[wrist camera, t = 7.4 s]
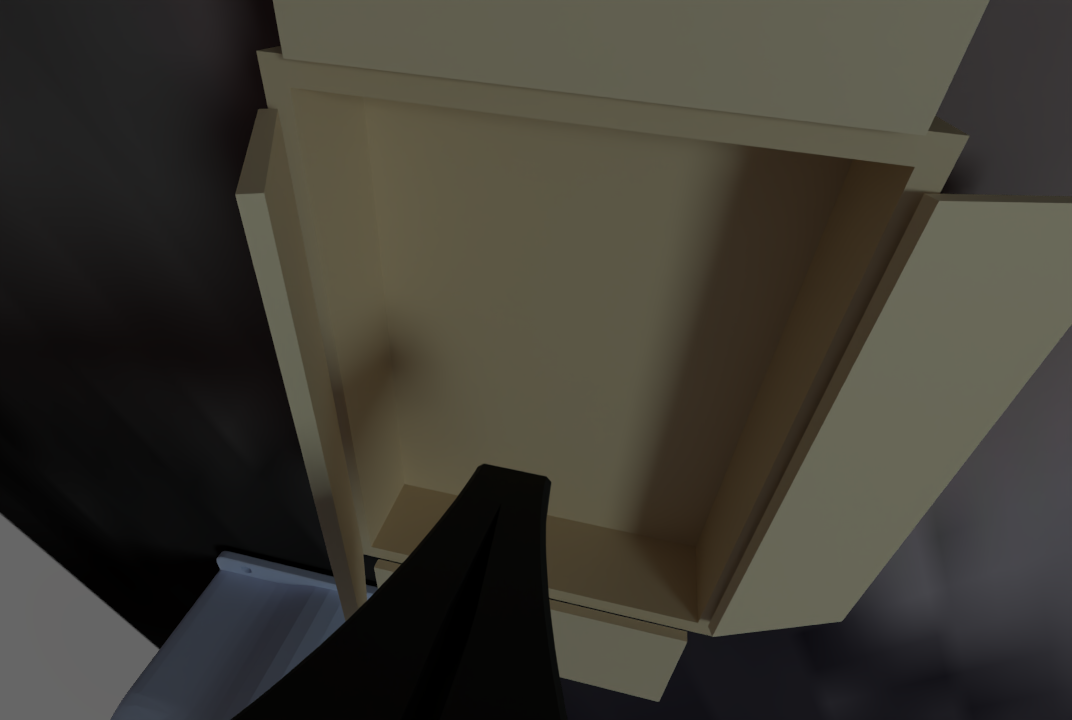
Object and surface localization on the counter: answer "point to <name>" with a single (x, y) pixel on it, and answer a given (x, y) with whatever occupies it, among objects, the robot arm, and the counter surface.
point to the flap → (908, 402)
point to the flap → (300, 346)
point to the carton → (602, 264)
